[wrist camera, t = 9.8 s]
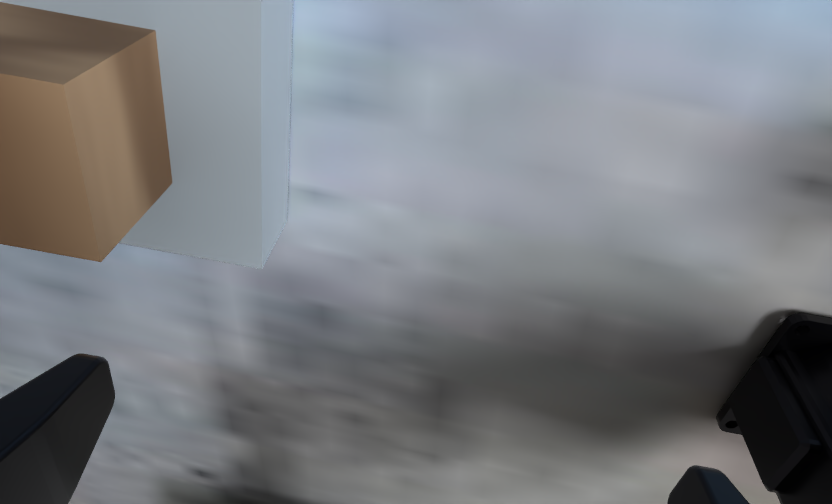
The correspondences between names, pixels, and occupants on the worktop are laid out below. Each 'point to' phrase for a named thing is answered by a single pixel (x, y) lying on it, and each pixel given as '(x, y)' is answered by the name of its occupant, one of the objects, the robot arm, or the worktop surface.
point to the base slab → (214, 121)
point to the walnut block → (77, 131)
